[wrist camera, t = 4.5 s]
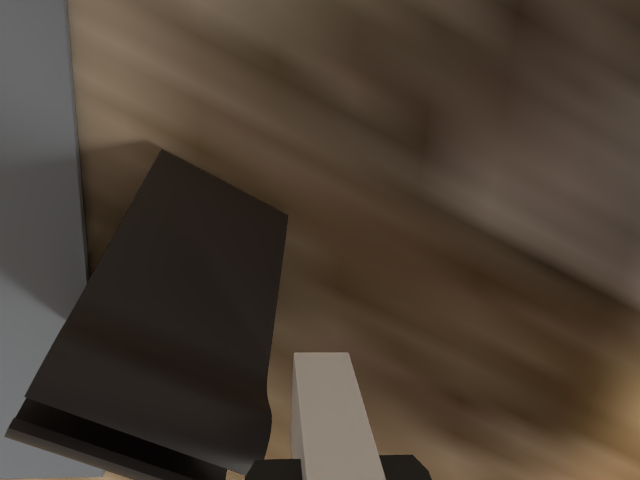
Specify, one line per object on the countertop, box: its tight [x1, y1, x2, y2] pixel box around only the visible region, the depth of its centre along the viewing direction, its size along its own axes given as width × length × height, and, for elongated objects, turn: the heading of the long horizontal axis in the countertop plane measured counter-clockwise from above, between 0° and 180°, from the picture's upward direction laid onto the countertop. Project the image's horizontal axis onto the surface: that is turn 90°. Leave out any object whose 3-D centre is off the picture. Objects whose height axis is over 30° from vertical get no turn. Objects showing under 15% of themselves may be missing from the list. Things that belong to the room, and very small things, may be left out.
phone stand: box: [4, 149, 288, 480], centre depth 19 cm, size 9×6×12 cm, turn 149°
